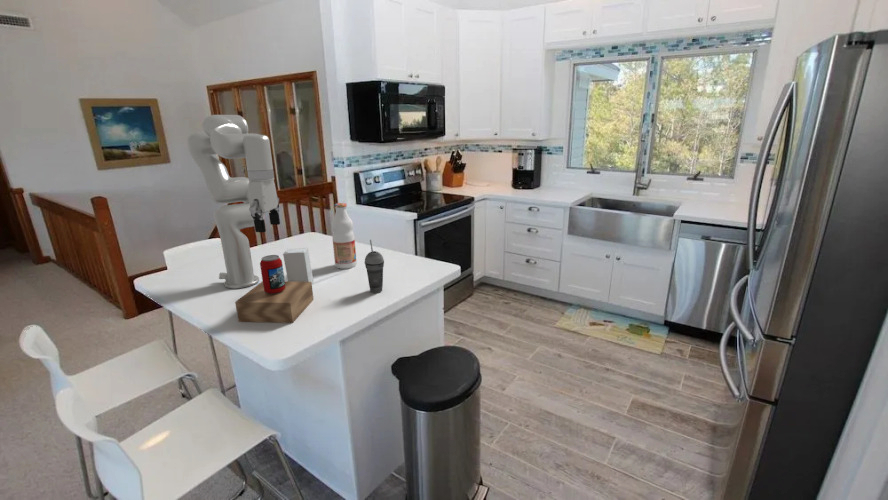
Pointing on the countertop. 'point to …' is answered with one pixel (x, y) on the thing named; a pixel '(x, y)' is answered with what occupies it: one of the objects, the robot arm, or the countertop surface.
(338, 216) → the fruit juice
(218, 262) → the countertop surface
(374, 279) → the beverage cup
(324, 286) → the countertop surface
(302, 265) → the skincare box
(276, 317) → the walnut block
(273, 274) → the beverage can
